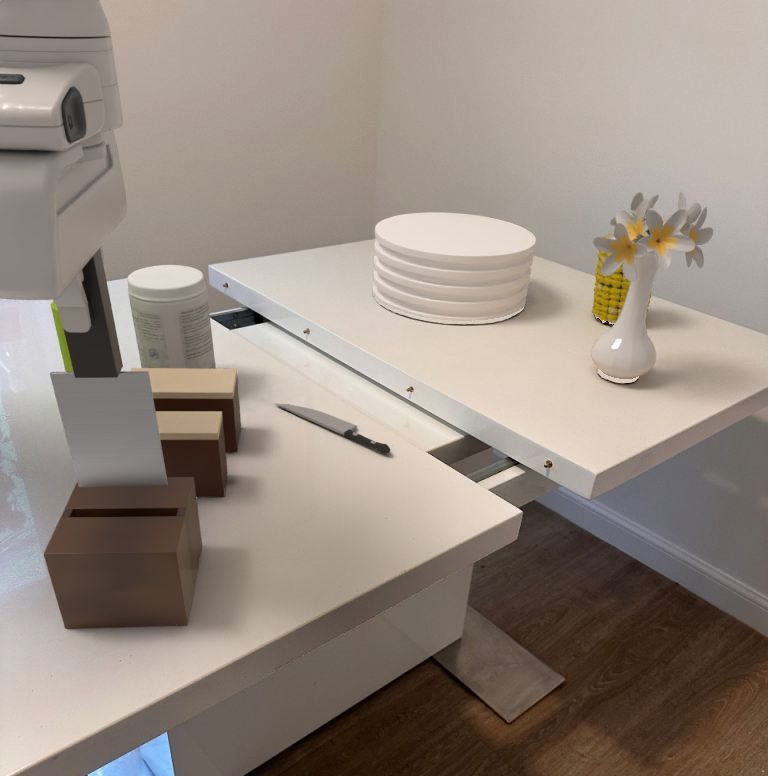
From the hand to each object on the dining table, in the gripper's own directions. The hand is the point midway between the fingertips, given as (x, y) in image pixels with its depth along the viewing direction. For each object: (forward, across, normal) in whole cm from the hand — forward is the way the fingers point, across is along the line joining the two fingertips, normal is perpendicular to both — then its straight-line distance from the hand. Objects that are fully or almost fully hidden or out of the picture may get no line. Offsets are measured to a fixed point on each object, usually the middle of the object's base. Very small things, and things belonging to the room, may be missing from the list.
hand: (85, 319), depth 50 cm
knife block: (+25, 0, 0) cm, 25 cm away
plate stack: (+25, -78, +41) cm, 92 cm away
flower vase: (+25, -44, +61) cm, 79 cm away
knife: (+14, 0, 0) cm, 14 cm away
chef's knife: (+25, -29, +19) cm, 43 cm away
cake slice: (+25, -16, 0) cm, 29 cm away
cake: (+25, -26, +1) cm, 36 cm away
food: (+25, -68, +69) cm, 100 cm away
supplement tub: (+25, -41, -2) cm, 48 cm away
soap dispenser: (+25, -35, -12) cm, 45 cm away
